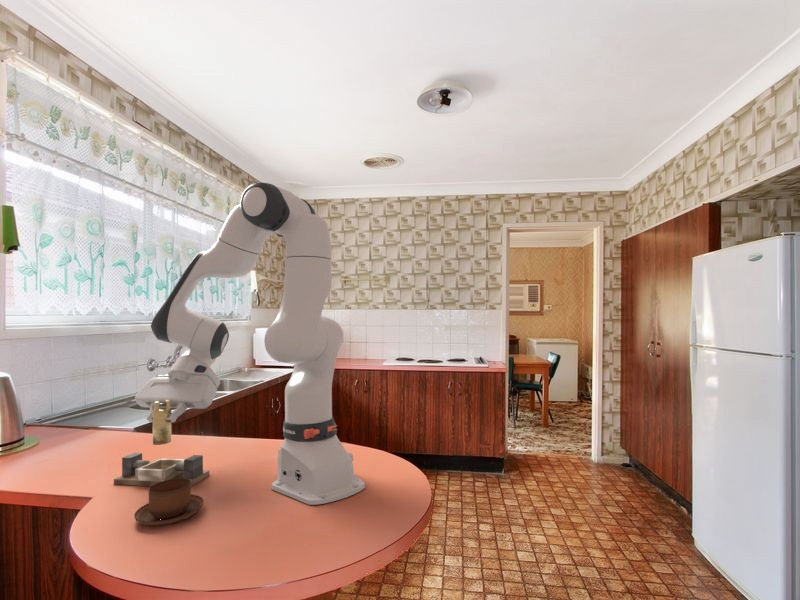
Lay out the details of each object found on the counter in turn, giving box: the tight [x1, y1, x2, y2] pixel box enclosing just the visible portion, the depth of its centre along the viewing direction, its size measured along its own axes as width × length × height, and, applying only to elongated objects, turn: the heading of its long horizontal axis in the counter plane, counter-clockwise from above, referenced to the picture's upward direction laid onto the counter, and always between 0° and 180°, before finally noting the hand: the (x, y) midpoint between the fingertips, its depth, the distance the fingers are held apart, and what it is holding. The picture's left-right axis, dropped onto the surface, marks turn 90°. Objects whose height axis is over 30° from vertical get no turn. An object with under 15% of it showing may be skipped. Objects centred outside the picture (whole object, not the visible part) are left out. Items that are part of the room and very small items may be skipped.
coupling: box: [152, 400, 172, 446], centre depth 104 cm, size 4×4×10 cm
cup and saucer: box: [134, 478, 204, 527], centre depth 83 cm, size 12×12×6 cm
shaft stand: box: [113, 452, 210, 487], centre depth 103 cm, size 20×8×6 cm, turn 79°
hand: (160, 420), depth 103 cm, fingers closed on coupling, 4 cm apart
